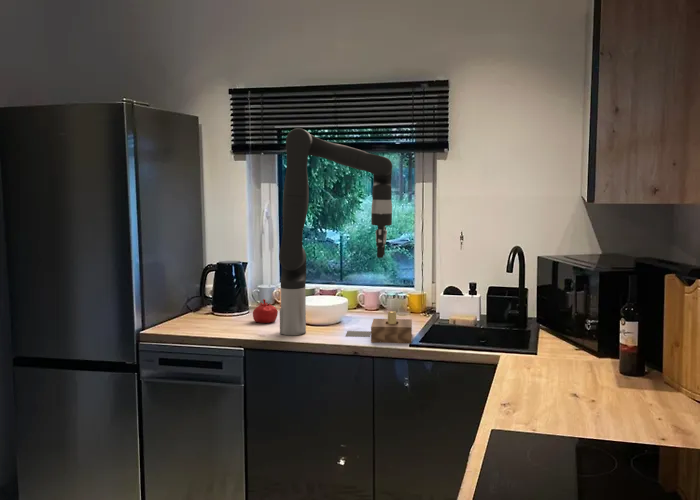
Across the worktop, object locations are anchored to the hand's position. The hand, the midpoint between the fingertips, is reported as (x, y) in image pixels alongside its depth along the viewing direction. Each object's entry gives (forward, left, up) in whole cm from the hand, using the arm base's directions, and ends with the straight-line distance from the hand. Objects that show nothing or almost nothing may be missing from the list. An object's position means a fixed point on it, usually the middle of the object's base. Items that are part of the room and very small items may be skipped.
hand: (380, 256), depth 245 cm
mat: (-8, -3, -29) cm, 30 cm away
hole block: (+5, -9, -29) cm, 31 cm away
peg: (+5, -9, -29) cm, 31 cm away
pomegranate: (-47, +17, -29) cm, 58 cm away
